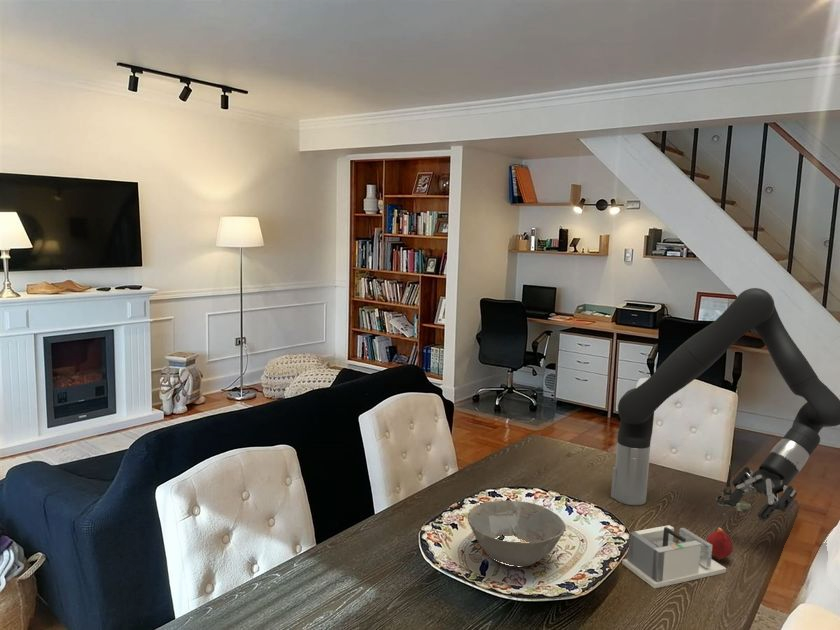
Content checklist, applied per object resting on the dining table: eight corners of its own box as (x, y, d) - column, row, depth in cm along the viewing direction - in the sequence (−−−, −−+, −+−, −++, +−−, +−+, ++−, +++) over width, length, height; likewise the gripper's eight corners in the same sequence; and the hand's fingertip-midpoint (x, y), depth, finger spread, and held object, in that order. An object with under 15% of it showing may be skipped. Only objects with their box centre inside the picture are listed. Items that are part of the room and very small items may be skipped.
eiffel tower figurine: (725, 517, 176) (729, 472, 174) (695, 502, 185) (699, 460, 183) (759, 508, 183) (764, 464, 181) (729, 494, 192) (733, 453, 190)
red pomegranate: (729, 555, 154) (732, 525, 153) (732, 567, 148) (735, 535, 147) (704, 551, 156) (706, 520, 154) (706, 562, 150) (709, 531, 149)
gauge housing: (690, 549, 156) (693, 518, 155) (726, 572, 146) (729, 539, 145) (622, 563, 149) (624, 530, 147) (654, 588, 138) (657, 553, 137)
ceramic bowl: (575, 584, 140) (577, 542, 138) (473, 585, 138) (475, 543, 137) (548, 535, 161) (550, 499, 160) (460, 536, 160) (461, 499, 158)
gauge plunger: (681, 548, 154) (684, 514, 152) (714, 569, 144) (717, 533, 143) (645, 556, 150) (648, 520, 148) (676, 578, 140) (679, 540, 139)
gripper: (753, 442, 161) (715, 490, 158) (804, 462, 148) (763, 514, 145) (766, 460, 163) (729, 507, 161) (817, 481, 150) (777, 532, 148)
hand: (745, 510), depth 153 cm, fingers open, 8 cm apart
